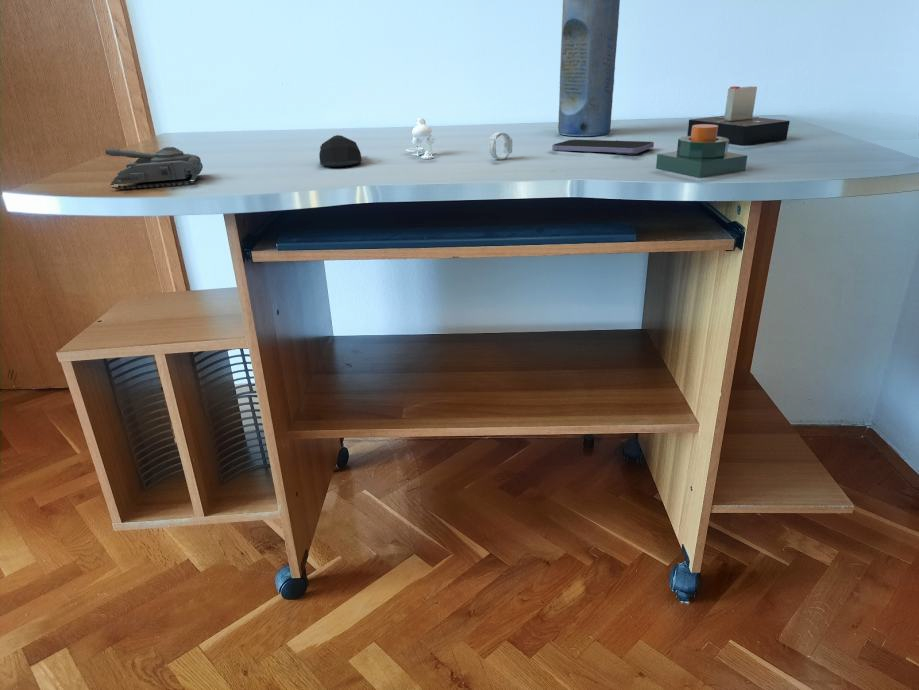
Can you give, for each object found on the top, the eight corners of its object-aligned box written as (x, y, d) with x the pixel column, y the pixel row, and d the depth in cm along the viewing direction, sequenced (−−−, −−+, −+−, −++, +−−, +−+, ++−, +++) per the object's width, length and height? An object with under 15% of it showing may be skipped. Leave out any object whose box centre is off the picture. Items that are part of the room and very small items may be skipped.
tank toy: (107, 193, 86) (96, 153, 84) (121, 179, 94) (112, 143, 92) (201, 185, 89) (192, 146, 86) (207, 173, 97) (199, 137, 95)
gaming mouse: (357, 152, 110) (354, 127, 108) (363, 167, 97) (360, 139, 95) (320, 154, 109) (316, 130, 107) (320, 170, 96) (317, 142, 94)
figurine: (432, 148, 110) (431, 114, 108) (439, 158, 101) (437, 121, 99) (406, 150, 109) (403, 116, 107) (410, 160, 101) (407, 123, 98)
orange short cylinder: (721, 142, 83) (723, 125, 82) (703, 144, 82) (705, 128, 81) (703, 139, 86) (705, 123, 85) (685, 141, 85) (686, 125, 84)
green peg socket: (745, 171, 84) (750, 139, 82) (699, 178, 81) (703, 145, 79) (699, 162, 90) (703, 132, 89) (655, 168, 87) (658, 138, 86)
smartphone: (571, 139, 109) (656, 141, 101) (571, 146, 110) (655, 149, 101) (549, 145, 104) (637, 148, 95) (549, 152, 104) (637, 156, 96)
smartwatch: (493, 161, 97) (493, 133, 95) (485, 159, 98) (485, 132, 97) (512, 158, 99) (513, 131, 97) (504, 157, 100) (504, 130, 98)
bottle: (547, 134, 120) (551, -52, 107) (581, 128, 126) (589, -49, 113) (587, 138, 114) (597, -59, 101) (621, 132, 119) (634, -56, 106)
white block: (745, 118, 108) (750, 84, 106) (752, 118, 107) (757, 85, 105) (723, 120, 106) (728, 86, 104) (730, 121, 105) (735, 87, 103)
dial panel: (786, 139, 105) (790, 119, 103) (742, 146, 101) (745, 125, 100) (729, 132, 115) (731, 113, 113) (686, 137, 111) (689, 118, 109)
